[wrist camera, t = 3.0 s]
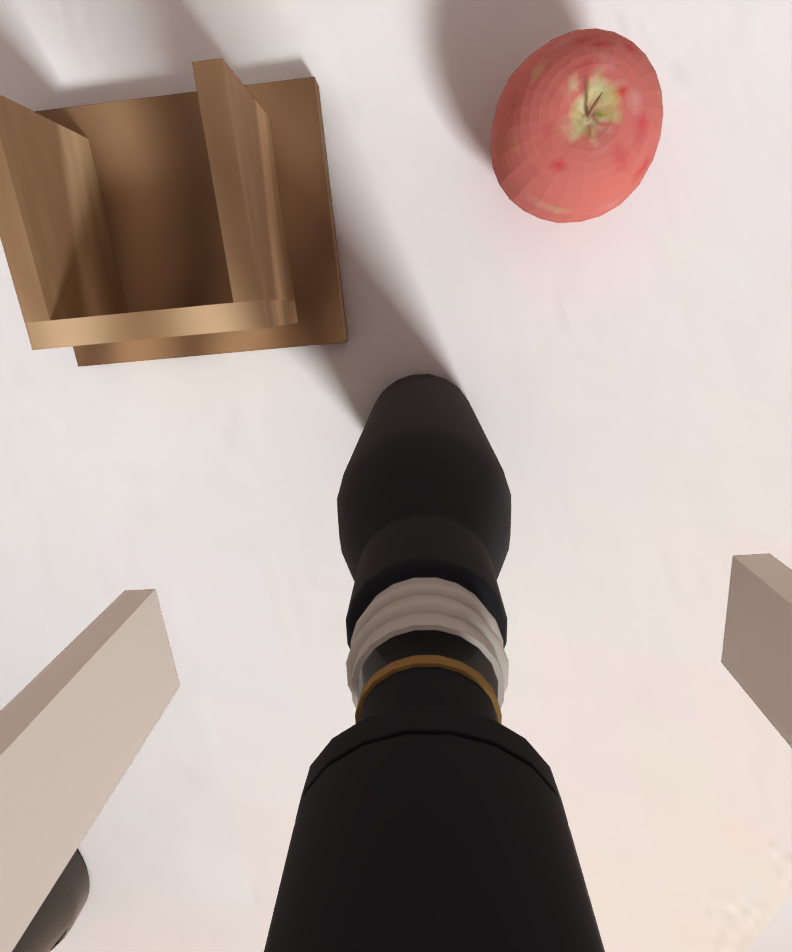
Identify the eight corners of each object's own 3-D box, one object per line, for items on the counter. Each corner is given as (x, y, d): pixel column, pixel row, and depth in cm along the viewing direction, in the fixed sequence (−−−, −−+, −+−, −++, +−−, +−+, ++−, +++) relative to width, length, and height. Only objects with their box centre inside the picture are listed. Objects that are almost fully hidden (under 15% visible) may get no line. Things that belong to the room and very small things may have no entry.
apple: (481, 81, 28) (505, -2, 20) (627, 69, 28) (706, -20, 20) (482, 237, 30) (504, 214, 23) (617, 228, 30) (685, 202, 22)
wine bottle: (396, 355, 32) (226, 748, 4) (492, 401, 33) (967, 1037, 4) (354, 449, 34) (24, 1184, 6) (445, 491, 35) (562, 1346, 6)
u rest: (89, 364, 33) (-12, 382, 25) (27, 122, 29) (-114, 56, 22) (347, 340, 32) (324, 352, 24) (318, 86, 28) (280, 3, 21)
